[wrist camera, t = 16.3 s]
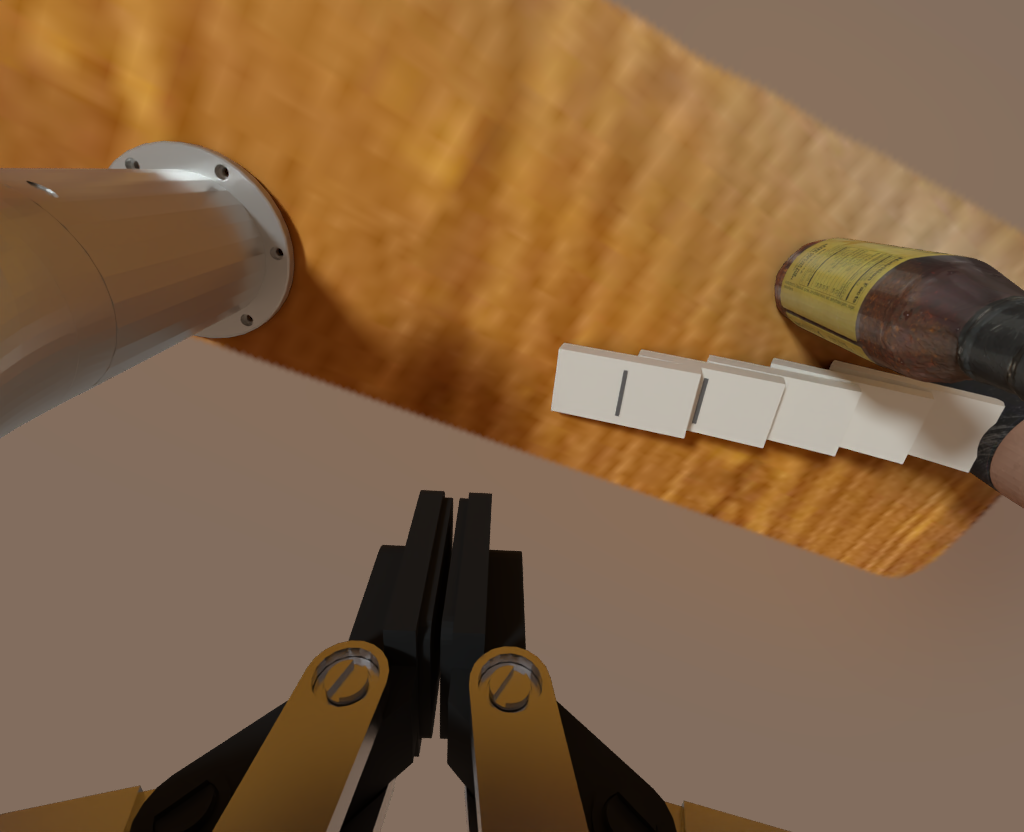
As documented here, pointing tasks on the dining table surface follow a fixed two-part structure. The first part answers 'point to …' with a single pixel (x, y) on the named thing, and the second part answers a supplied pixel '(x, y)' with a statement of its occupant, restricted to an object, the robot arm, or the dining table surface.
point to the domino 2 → (731, 401)
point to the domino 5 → (942, 418)
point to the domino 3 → (807, 408)
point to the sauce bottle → (909, 310)
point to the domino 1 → (625, 389)
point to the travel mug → (1000, 443)
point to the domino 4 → (877, 413)
